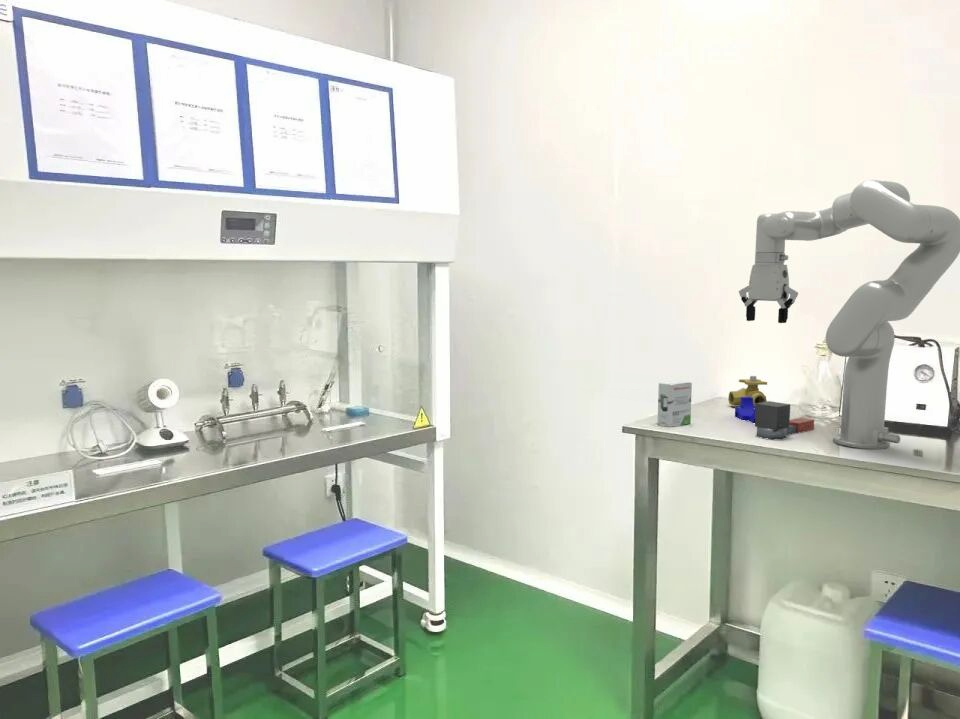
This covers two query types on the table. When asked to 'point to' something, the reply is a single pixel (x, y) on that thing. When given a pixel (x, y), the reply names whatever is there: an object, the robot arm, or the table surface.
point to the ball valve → (748, 392)
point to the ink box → (674, 403)
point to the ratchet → (787, 429)
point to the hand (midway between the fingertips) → (766, 321)
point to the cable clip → (746, 409)
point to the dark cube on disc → (772, 415)
